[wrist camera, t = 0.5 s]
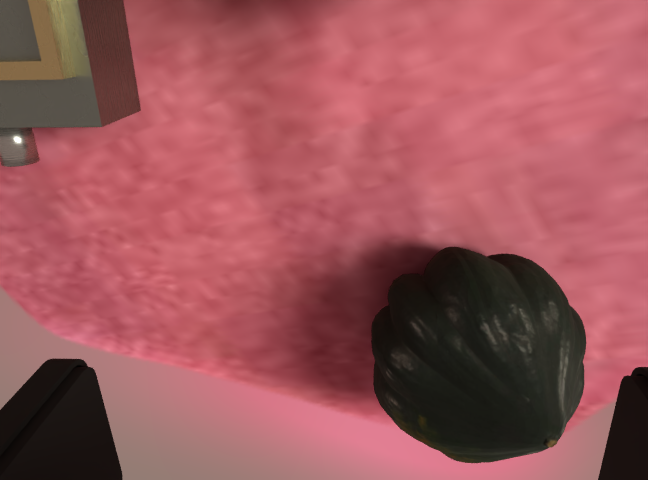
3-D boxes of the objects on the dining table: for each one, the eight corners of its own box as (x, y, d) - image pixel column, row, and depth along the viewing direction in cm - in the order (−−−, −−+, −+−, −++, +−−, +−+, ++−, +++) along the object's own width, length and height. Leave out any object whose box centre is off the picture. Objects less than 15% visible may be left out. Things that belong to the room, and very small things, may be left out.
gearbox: (-99, -150, 32) (-226, -196, 25) (97, -161, 31) (20, -211, 24) (-13, 151, 40) (-92, 180, 33) (147, 151, 39) (99, 180, 32)
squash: (299, 339, 38) (422, 544, 29) (438, 183, 33) (633, 374, 24) (399, 345, 49) (510, 496, 40) (515, 229, 44) (669, 372, 35)
